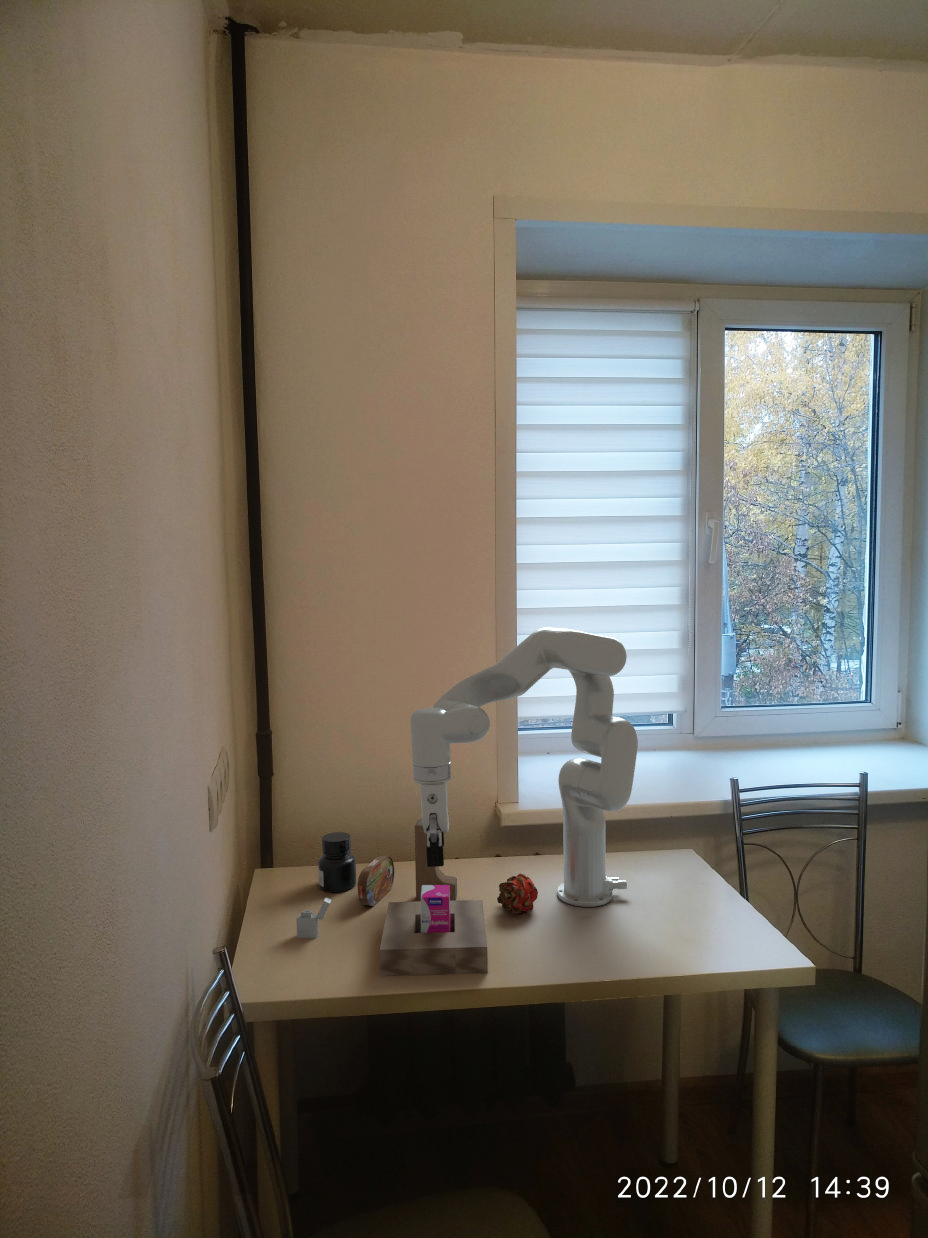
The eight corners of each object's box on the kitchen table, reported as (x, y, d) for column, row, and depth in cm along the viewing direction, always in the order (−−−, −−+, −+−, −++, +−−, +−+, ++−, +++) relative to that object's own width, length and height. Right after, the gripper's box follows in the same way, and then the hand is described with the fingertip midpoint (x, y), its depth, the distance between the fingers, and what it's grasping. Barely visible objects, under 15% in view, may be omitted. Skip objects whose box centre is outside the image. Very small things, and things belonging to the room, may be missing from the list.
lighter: (296, 938, 153) (295, 900, 153) (299, 934, 155) (298, 896, 154) (330, 938, 153) (329, 900, 152) (332, 934, 154) (331, 897, 154)
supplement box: (420, 954, 145) (419, 897, 144) (422, 939, 151) (421, 884, 150) (450, 953, 145) (449, 896, 144) (450, 938, 151) (449, 883, 150)
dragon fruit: (508, 930, 158) (519, 913, 170) (541, 909, 157) (549, 894, 168) (486, 895, 160) (498, 880, 172) (518, 874, 159) (527, 861, 170)
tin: (368, 912, 164) (367, 875, 164) (355, 910, 165) (354, 873, 165) (396, 885, 179) (395, 851, 178) (384, 883, 180) (383, 849, 179)
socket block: (482, 922, 159) (482, 900, 158) (487, 973, 139) (487, 947, 138) (388, 925, 158) (388, 902, 158) (380, 976, 138) (379, 949, 138)
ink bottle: (329, 876, 185) (328, 828, 184) (362, 879, 182) (361, 831, 182) (311, 892, 175) (310, 842, 175) (346, 896, 173) (344, 845, 172)
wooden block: (457, 895, 172) (456, 819, 171) (455, 904, 168) (454, 826, 167) (418, 894, 173) (417, 818, 172) (415, 903, 168) (414, 825, 167)
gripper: (451, 783, 138) (455, 873, 139) (451, 759, 155) (454, 839, 156) (410, 785, 138) (415, 875, 139) (415, 760, 155) (418, 840, 156)
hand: (436, 856), depth 148 cm, fingers open, 9 cm apart
